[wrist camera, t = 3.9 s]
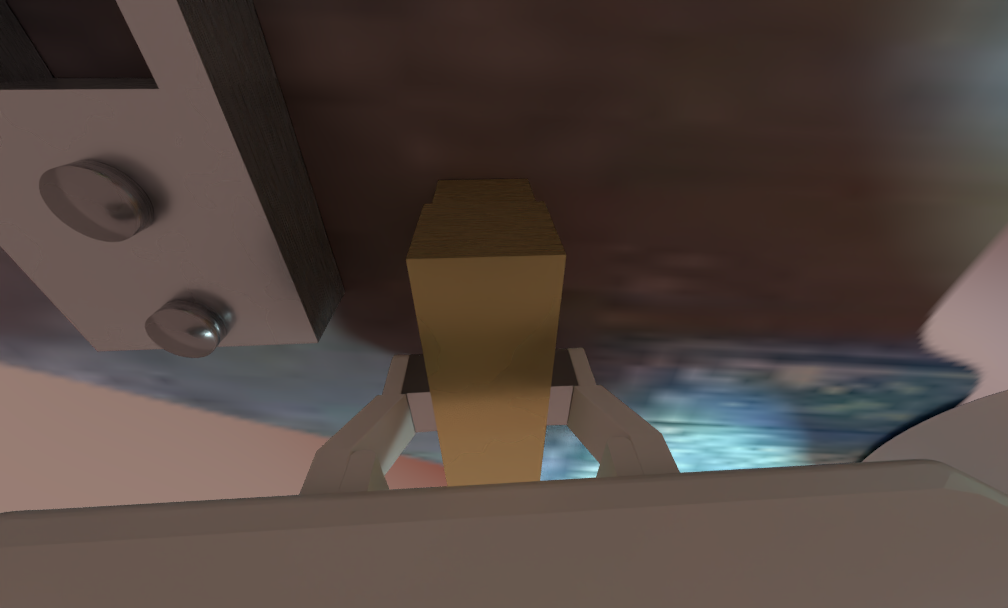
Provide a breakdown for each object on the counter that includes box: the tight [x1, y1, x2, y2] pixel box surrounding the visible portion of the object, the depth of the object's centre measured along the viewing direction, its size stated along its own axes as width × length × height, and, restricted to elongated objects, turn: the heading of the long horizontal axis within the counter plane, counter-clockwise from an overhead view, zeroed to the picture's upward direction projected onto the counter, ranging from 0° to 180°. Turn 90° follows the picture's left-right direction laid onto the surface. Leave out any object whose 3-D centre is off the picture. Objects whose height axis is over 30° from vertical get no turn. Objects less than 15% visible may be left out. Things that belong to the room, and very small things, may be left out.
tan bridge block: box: [406, 179, 566, 486], centre depth 12 cm, size 11×3×6 cm, turn 0°
